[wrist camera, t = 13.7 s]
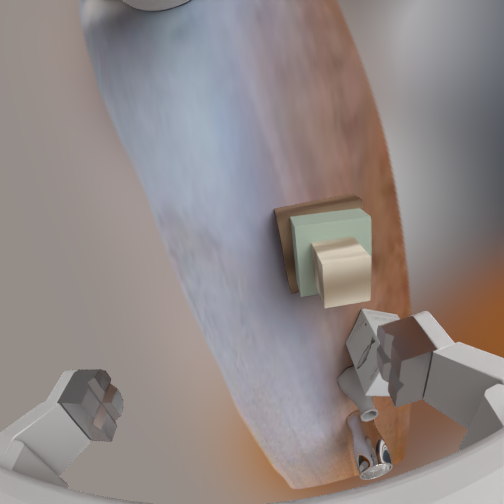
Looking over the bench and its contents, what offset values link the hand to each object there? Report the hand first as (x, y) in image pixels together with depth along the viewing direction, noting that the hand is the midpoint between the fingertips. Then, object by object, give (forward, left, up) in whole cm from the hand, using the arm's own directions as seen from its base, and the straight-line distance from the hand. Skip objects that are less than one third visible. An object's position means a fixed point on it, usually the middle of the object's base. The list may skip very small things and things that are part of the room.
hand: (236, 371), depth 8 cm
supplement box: (+28, +15, -34) cm, 47 cm away
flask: (+39, +12, -34) cm, 53 cm away
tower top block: (+10, +8, -30) cm, 33 cm away
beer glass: (+53, +13, -34) cm, 64 cm away
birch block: (+10, +8, -26) cm, 29 cm away
